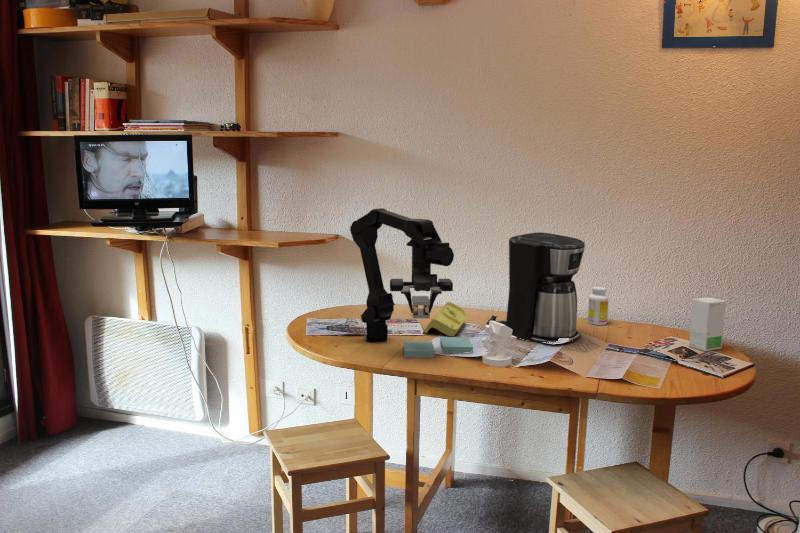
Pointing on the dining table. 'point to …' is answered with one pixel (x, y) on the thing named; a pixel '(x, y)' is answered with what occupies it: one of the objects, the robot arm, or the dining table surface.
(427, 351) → the stand left
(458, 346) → the stand right
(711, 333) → the skincare box
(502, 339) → the character figurine
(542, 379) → the dining table surface
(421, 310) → the housing
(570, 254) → the coffee maker
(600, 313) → the supplement bottle
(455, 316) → the plastic component
